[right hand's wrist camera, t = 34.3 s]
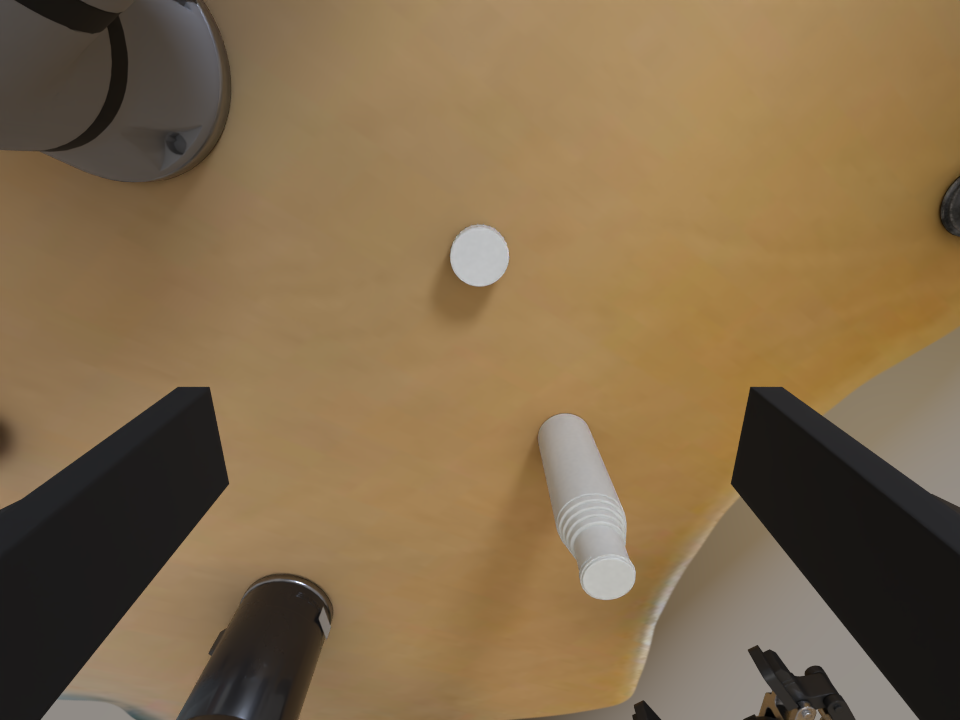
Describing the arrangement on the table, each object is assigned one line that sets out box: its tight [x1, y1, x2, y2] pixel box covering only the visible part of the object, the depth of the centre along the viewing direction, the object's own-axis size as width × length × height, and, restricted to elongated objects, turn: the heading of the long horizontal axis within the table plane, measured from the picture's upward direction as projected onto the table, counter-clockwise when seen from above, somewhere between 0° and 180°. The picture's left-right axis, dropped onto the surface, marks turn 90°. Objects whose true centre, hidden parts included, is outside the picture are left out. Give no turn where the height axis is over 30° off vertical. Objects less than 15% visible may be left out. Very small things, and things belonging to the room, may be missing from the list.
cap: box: [450, 224, 509, 286], centre depth 40 cm, size 4×4×2 cm
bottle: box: [538, 414, 636, 600], centre depth 38 cm, size 5×5×17 cm
